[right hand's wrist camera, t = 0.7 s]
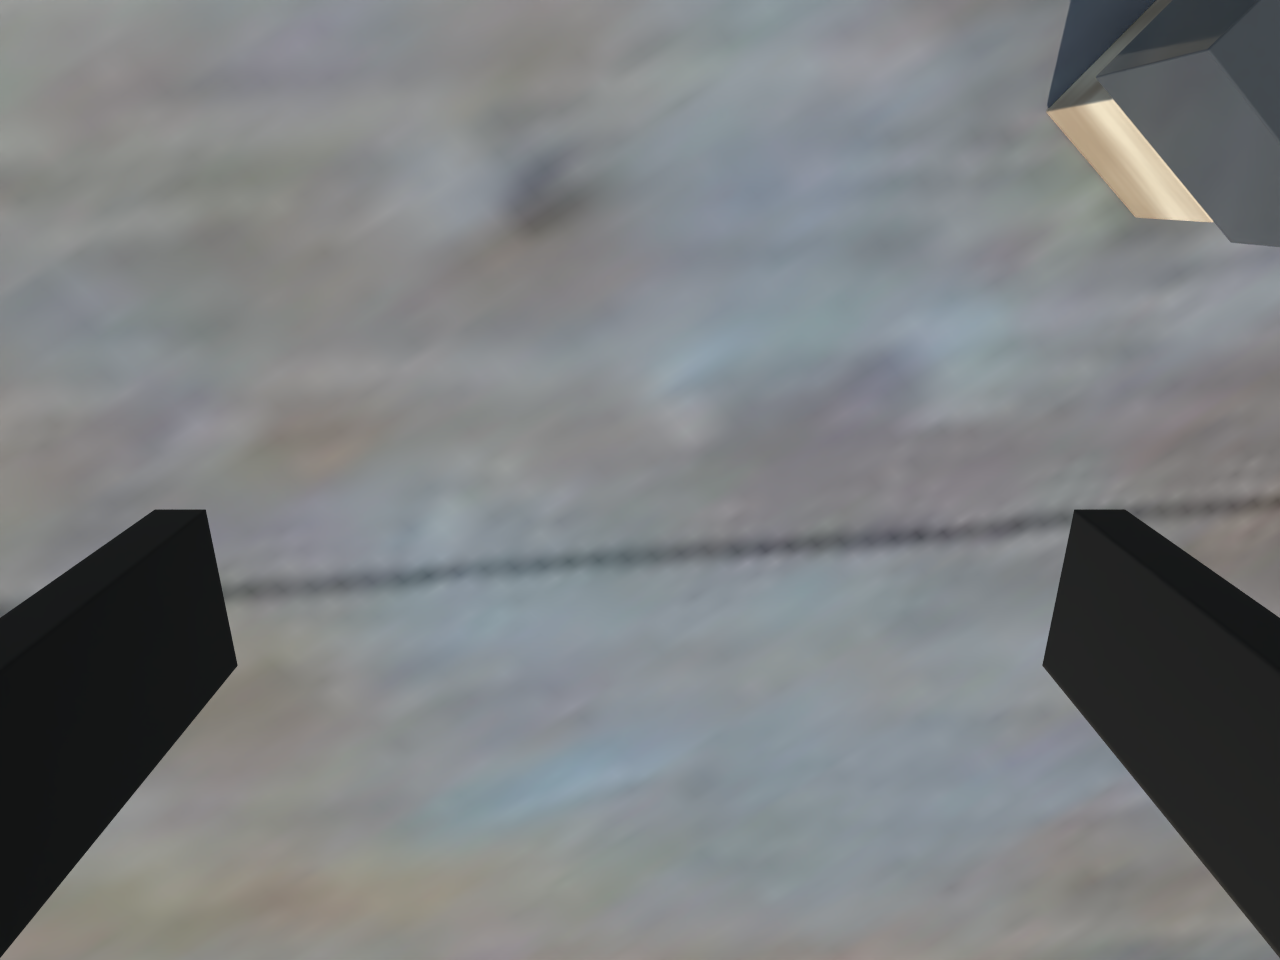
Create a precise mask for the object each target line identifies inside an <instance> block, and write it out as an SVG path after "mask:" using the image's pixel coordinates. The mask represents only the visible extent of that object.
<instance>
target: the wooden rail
mask: <svg viewBox="0 0 1280 960" xmlns="http://www.w3.org/2000/svg"><path fill="white" fill-rule="evenodd" d="M1171 1H1172V0H1156V1H1155V2H1154V3H1153V4H1152V5H1151V6H1150V7H1149V8H1148V9H1147V10H1146V11H1145V12H1144V13H1143V14H1142V15H1141V16H1140V17H1139V18H1138V19H1137V20H1136V21H1135V22H1134V23H1133V24H1132V25H1131V26H1130V27H1129V28H1128V29H1127V30H1126V31H1125V32H1124V33H1123V34H1122V35H1121V36H1120V37H1119V38H1118V39H1117V40H1116V41H1115V42H1114V43H1113V44H1112V45H1111V46H1110V47H1109V48H1108V49H1107V50H1106V51H1105V52H1104V53H1103V54H1102V55H1101V56H1100V57H1099V58H1098V59H1097V60H1096V61H1095V62H1094V63H1093V64H1092V65H1091V66H1090V68H1089V69H1088V70H1087V71H1086V72H1085V73H1084V74H1083V75H1082V76H1081V77H1080V78H1079V79H1078V80H1077V81H1076V82H1075V83H1074V84H1073V85H1072V86H1071V87H1070V88H1069V89H1068V90H1067V91H1066V92H1065V93H1064V94H1063V95H1062V96H1061V97H1060V98H1059V99H1058V100H1057V101H1056V102H1055V103H1054V104H1053V105H1052V106H1051V107H1050V108H1049V109H1048V110H1047V111H1046V112H1047V114H1048V115H1049V116H1050V117H1051V118H1052V120H1053V121H1054V122H1055V123H1056V124H1057V125H1058V127H1059V128H1060V129H1061V130H1062V131H1063V132H1064V134H1065V135H1066V136H1067V137H1068V138H1069V139H1070V141H1071V142H1072V143H1073V144H1074V145H1075V147H1076V148H1077V149H1078V150H1079V151H1080V152H1081V154H1082V155H1083V156H1084V157H1085V158H1086V159H1087V161H1088V162H1089V163H1090V164H1091V165H1092V167H1093V168H1094V169H1095V170H1096V171H1097V172H1098V174H1099V175H1100V176H1101V177H1102V178H1103V179H1104V181H1105V182H1106V183H1107V184H1108V185H1109V187H1110V188H1111V189H1112V190H1113V191H1114V192H1115V194H1116V195H1117V196H1118V197H1119V198H1120V199H1121V201H1122V202H1123V203H1124V204H1125V205H1126V207H1127V208H1128V209H1129V210H1130V211H1131V212H1132V214H1133V215H1134V216H1135V217H1137V218H1152V219H1168V220H1184V221H1199V222H1214V221H1213V220H1212V219H1211V218H1210V216H1209V215H1208V214H1207V213H1206V212H1205V210H1204V209H1203V208H1202V207H1201V205H1200V204H1199V203H1198V202H1197V201H1196V199H1195V198H1194V197H1193V196H1192V195H1191V193H1190V192H1189V191H1188V190H1187V188H1186V187H1185V186H1184V185H1183V184H1182V182H1181V181H1180V180H1179V179H1178V178H1177V176H1176V175H1175V174H1174V173H1173V171H1172V170H1171V169H1170V168H1169V167H1168V165H1167V164H1166V163H1165V162H1164V160H1163V159H1162V158H1161V157H1160V156H1159V154H1158V153H1157V152H1156V151H1155V150H1154V148H1153V147H1152V146H1151V145H1150V143H1149V142H1148V141H1147V140H1146V139H1145V137H1144V136H1143V135H1142V134H1141V132H1140V131H1139V130H1138V129H1137V128H1136V126H1135V125H1134V124H1133V123H1132V122H1131V120H1130V119H1129V118H1128V117H1127V115H1126V114H1125V113H1124V112H1123V111H1122V109H1121V108H1120V107H1119V106H1118V105H1117V103H1116V102H1115V101H1114V100H1113V98H1112V97H1111V96H1110V95H1109V94H1108V92H1107V91H1106V90H1105V89H1104V87H1103V86H1102V85H1101V84H1100V83H1099V81H1098V80H1097V79H1096V76H1097V75H1098V74H1099V73H1100V72H1101V71H1102V70H1103V69H1104V68H1105V67H1106V66H1107V65H1108V64H1109V63H1110V62H1111V61H1112V60H1113V59H1114V58H1115V57H1116V56H1117V55H1118V54H1119V53H1120V52H1121V51H1122V50H1123V49H1124V48H1125V47H1126V46H1127V45H1128V44H1129V43H1130V42H1131V41H1132V40H1133V39H1134V38H1135V37H1136V36H1137V35H1138V34H1139V33H1140V32H1141V31H1142V30H1143V29H1144V28H1145V27H1146V26H1147V25H1148V24H1149V23H1150V22H1151V21H1152V20H1153V19H1154V18H1155V17H1156V16H1157V15H1158V14H1159V13H1160V12H1161V11H1162V10H1163V9H1164V8H1165V7H1166V6H1167V5H1168V4H1169V3H1170V2H1171Z"/></svg>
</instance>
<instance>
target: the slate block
mask: <svg viewBox="0 0 1280 960" xmlns="http://www.w3.org/2000/svg"><path fill="white" fill-rule="evenodd" d="M1096 79H1097V80H1098V81H1099V83H1100V84H1101V85H1102V86H1103V87H1104V89H1105V90H1106V91H1107V92H1108V94H1109V95H1110V96H1111V97H1112V98H1113V100H1114V101H1115V102H1116V103H1117V105H1118V106H1119V107H1120V108H1121V109H1122V111H1123V112H1124V113H1125V114H1126V115H1127V117H1128V118H1129V119H1130V120H1131V122H1132V123H1133V124H1134V125H1135V126H1136V128H1137V129H1138V130H1139V131H1140V132H1141V134H1142V135H1143V136H1144V137H1145V139H1146V140H1147V141H1148V142H1149V143H1150V145H1151V146H1152V147H1153V148H1154V150H1155V151H1156V152H1157V153H1158V154H1159V156H1160V157H1161V158H1162V159H1163V160H1164V162H1165V163H1166V164H1167V165H1168V167H1169V168H1170V169H1171V170H1172V171H1173V173H1174V174H1175V175H1176V176H1177V178H1178V179H1179V180H1180V181H1181V182H1182V184H1183V185H1184V186H1185V187H1186V188H1187V190H1188V191H1189V192H1190V193H1191V195H1192V196H1193V197H1194V198H1195V199H1196V201H1197V202H1198V203H1199V204H1200V205H1201V207H1202V208H1203V209H1204V210H1205V212H1206V213H1207V214H1208V215H1209V216H1210V218H1211V219H1212V220H1213V221H1214V223H1215V224H1216V225H1217V226H1218V227H1219V229H1220V230H1221V231H1222V232H1223V233H1224V235H1225V236H1226V237H1227V238H1228V240H1229V241H1230V242H1231V243H1241V244H1251V245H1261V246H1272V247H1280V0H1172V1H1171V2H1170V3H1169V4H1168V5H1167V6H1166V7H1165V8H1164V9H1163V10H1162V11H1161V12H1160V13H1159V14H1158V15H1157V16H1156V17H1155V18H1154V19H1153V20H1152V21H1151V22H1150V23H1149V24H1148V25H1147V26H1146V27H1145V28H1144V29H1143V30H1142V31H1141V32H1140V33H1139V34H1138V35H1137V36H1136V37H1135V38H1134V39H1133V40H1132V41H1131V42H1130V43H1129V44H1128V45H1127V46H1126V47H1125V48H1124V49H1123V50H1122V51H1121V52H1120V53H1119V54H1118V55H1117V56H1116V57H1115V58H1114V59H1113V60H1112V61H1111V62H1110V63H1109V64H1108V65H1107V66H1106V67H1105V68H1104V69H1103V70H1102V71H1101V72H1100V73H1099V74H1098V75H1097V76H1096Z"/></svg>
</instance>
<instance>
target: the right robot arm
mask: <svg viewBox="0 0 1280 960" xmlns="http://www.w3.org/2000/svg"><path fill="white" fill-rule="evenodd" d="M236 667H237V661H236V656H235V651H234V646H233V641H232V636H231V631H230V626H229V622H228V617H227V612H226V607H225V602H224V597H223V592H222V587H221V582H220V578H219V573H218V568H217V563H216V558H215V553H214V548H213V543H212V538H211V534H210V529H209V524H208V519H207V514H206V510H154V511H152V512H151V513H149V514H148V515H147V516H145V517H144V518H142V519H141V520H139V521H138V522H137V523H135V524H134V525H132V526H131V527H129V528H128V529H127V530H125V531H124V532H122V533H121V534H119V535H118V536H117V537H115V538H114V539H112V540H111V541H109V542H108V543H107V544H105V545H104V546H102V547H101V548H99V549H98V550H97V551H95V552H94V553H92V554H91V555H89V556H88V557H87V558H85V559H84V560H82V561H81V562H79V563H78V564H77V565H75V566H74V567H72V568H71V569H69V570H68V571H67V572H65V573H64V574H62V575H61V576H59V577H58V578H57V579H55V580H54V581H52V582H51V583H50V584H48V585H47V586H45V587H44V588H42V589H41V590H40V591H38V592H37V593H35V594H34V595H32V596H31V597H30V598H28V599H27V600H25V601H24V602H22V603H21V604H20V605H18V606H17V607H15V608H14V609H12V610H11V611H10V612H8V613H7V614H5V615H4V616H2V617H1V618H0V957H1V956H2V955H3V954H4V953H5V951H6V950H7V949H8V948H9V946H10V945H11V944H12V943H13V941H14V940H15V939H16V938H17V937H18V935H19V934H20V933H21V932H22V930H23V929H24V928H25V927H26V925H27V924H28V923H29V922H30V921H31V919H32V918H33V917H34V916H35V914H36V913H37V912H38V911H39V909H40V908H41V907H42V906H43V905H44V903H45V902H46V901H47V900H48V898H49V897H50V896H51V895H52V893H53V892H54V891H55V890H56V889H57V887H58V886H59V885H60V884H61V882H62V881H63V880H64V879H65V877H66V876H67V875H68V874H69V872H70V871H71V870H72V869H73V868H74V866H75V865H76V864H77V863H78V861H79V860H80V859H81V858H82V856H83V855H84V854H85V853H86V852H87V850H88V849H89V848H90V847H91V845H92V844H93V843H94V842H95V840H96V839H97V838H98V837H99V836H100V834H101V833H102V832H103V831H104V829H105V828H106V827H107V826H108V824H109V823H110V822H111V821H112V820H113V818H114V817H115V816H116V815H117V813H118V812H119V811H120V810H121V808H122V807H123V806H124V805H125V804H126V802H127V801H128V800H129V799H130V797H131V796H132V795H133V794H134V792H135V791H136V790H137V789H138V788H139V786H140V785H141V784H142V783H143V781H144V780H145V779H146V778H147V776H148V775H149V774H150V773H151V771H152V770H153V769H154V768H155V767H156V765H157V764H158V763H159V762H160V760H161V759H162V758H163V757H164V755H165V754H166V753H167V752H168V751H169V749H170V748H171V747H172V746H173V744H174V743H175V742H176V741H177V739H178V738H179V737H180V736H181V735H182V733H183V732H184V731H185V730H186V728H187V727H188V726H189V725H190V723H191V722H192V721H193V720H194V719H195V717H196V716H197V715H198V714H199V712H200V711H201V710H202V709H203V707H204V706H205V705H206V704H207V703H208V701H209V700H210V699H211V698H212V696H213V695H214V694H215V693H216V691H217V690H218V689H219V688H220V687H221V685H222V684H223V683H224V682H225V680H226V679H227V678H228V677H229V675H230V674H231V673H232V672H233V671H234V669H235V668H236ZM1043 667H1044V668H1045V669H1046V671H1047V672H1048V673H1049V674H1050V675H1051V677H1052V678H1053V679H1054V680H1055V682H1056V683H1057V684H1058V685H1059V687H1060V688H1061V689H1062V690H1063V691H1064V693H1065V694H1066V695H1067V696H1068V698H1069V699H1070V700H1071V701H1072V703H1073V704H1074V705H1075V706H1076V707H1077V709H1078V710H1079V711H1080V712H1081V714H1082V715H1083V716H1084V717H1085V719H1086V720H1087V721H1088V722H1089V723H1090V725H1091V726H1092V727H1093V728H1094V730H1095V731H1096V732H1097V733H1098V735H1099V736H1100V737H1101V738H1102V739H1103V741H1104V742H1105V743H1106V744H1107V746H1108V747H1109V748H1110V749H1111V751H1112V752H1113V753H1114V754H1115V755H1116V757H1117V758H1118V759H1119V760H1120V762H1121V763H1122V764H1123V765H1124V767H1125V768H1126V769H1127V770H1128V772H1129V773H1130V774H1131V775H1132V776H1133V778H1134V779H1135V780H1136V781H1137V783H1138V784H1139V785H1140V786H1141V788H1142V789H1143V790H1144V791H1145V792H1146V794H1147V795H1148V796H1149V797H1150V799H1151V800H1152V801H1153V802H1154V804H1155V805H1156V806H1157V807H1158V808H1159V810H1160V811H1161V812H1162V813H1163V815H1164V816H1165V817H1166V818H1167V820H1168V821H1169V822H1170V823H1171V824H1172V826H1173V827H1174V828H1175V829H1176V831H1177V832H1178V833H1179V834H1180V836H1181V837H1182V838H1183V839H1184V840H1185V842H1186V843H1187V844H1188V845H1189V847H1190V848H1191V849H1192V850H1193V852H1194V853H1195V854H1196V855H1197V856H1198V858H1199V859H1200V860H1201V861H1202V863H1203V864H1204V865H1205V866H1206V868H1207V869H1208V870H1209V871H1210V872H1211V874H1212V875H1213V876H1214V877H1215V879H1216V880H1217V881H1218V882H1219V884H1220V885H1221V886H1222V887H1223V889H1224V890H1225V891H1226V892H1227V893H1228V895H1229V896H1230V897H1231V898H1232V900H1233V901H1234V902H1235V903H1236V905H1237V906H1238V907H1239V908H1240V909H1241V911H1242V912H1243V913H1244V914H1245V916H1246V917H1247V918H1248V919H1249V921H1250V922H1251V923H1252V924H1253V925H1254V927H1255V928H1256V929H1257V930H1258V932H1259V933H1260V934H1261V935H1262V937H1263V938H1264V939H1265V940H1266V941H1267V943H1268V944H1269V945H1270V946H1271V948H1272V949H1273V950H1274V951H1275V953H1276V954H1277V955H1278V956H1279V957H1280V618H1279V617H1278V616H1276V615H1275V614H1273V613H1272V612H1270V611H1269V610H1268V609H1266V608H1265V607H1263V606H1262V605H1260V604H1259V603H1258V602H1256V601H1255V600H1253V599H1252V598H1250V597H1249V596H1248V595H1246V594H1245V593H1243V592H1242V591H1240V590H1239V589H1238V588H1236V587H1235V586H1233V585H1232V584H1230V583H1229V582H1228V581H1226V580H1225V579H1223V578H1222V577H1221V576H1219V575H1218V574H1216V573H1215V572H1213V571H1212V570H1211V569H1209V568H1208V567H1206V566H1205V565H1203V564H1202V563H1201V562H1199V561H1198V560H1196V559H1195V558H1193V557H1192V556H1191V555H1189V554H1188V553H1186V552H1185V551H1183V550H1182V549H1181V548H1179V547H1178V546H1176V545H1175V544H1173V543H1172V542H1171V541H1169V540H1168V539H1166V538H1165V537H1163V536H1162V535H1161V534H1159V533H1158V532H1156V531H1155V530H1153V529H1152V528H1151V527H1149V526H1148V525H1146V524H1145V523H1143V522H1142V521H1141V520H1139V519H1138V518H1136V517H1135V516H1133V515H1132V514H1131V513H1129V512H1128V511H1126V510H1074V514H1073V519H1072V524H1071V529H1070V534H1069V538H1068V543H1067V548H1066V553H1065V558H1064V563H1063V568H1062V573H1061V578H1060V582H1059V587H1058V592H1057V597H1056V602H1055V607H1054V612H1053V617H1052V622H1051V626H1050V631H1049V636H1048V641H1047V646H1046V651H1045V656H1044V661H1043Z"/></svg>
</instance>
